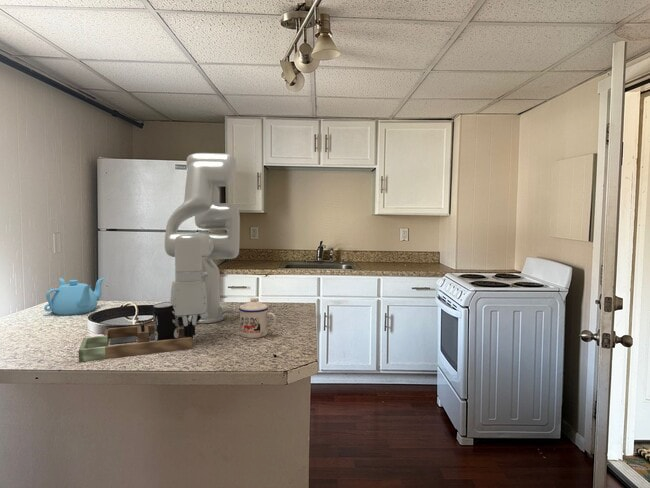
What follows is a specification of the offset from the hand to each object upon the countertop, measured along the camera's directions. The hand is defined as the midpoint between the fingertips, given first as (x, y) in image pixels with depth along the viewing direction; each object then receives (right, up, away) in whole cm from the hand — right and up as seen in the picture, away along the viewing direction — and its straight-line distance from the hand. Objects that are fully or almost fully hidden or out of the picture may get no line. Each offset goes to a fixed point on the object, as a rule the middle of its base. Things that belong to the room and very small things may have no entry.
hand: (189, 337), depth 125 cm
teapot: (-56, +1, +39) cm, 69 cm away
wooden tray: (-15, -1, -2) cm, 15 cm away
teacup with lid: (+19, -1, +9) cm, 21 cm away
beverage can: (-6, -2, -2) cm, 6 cm away
